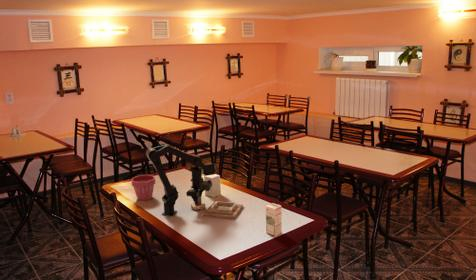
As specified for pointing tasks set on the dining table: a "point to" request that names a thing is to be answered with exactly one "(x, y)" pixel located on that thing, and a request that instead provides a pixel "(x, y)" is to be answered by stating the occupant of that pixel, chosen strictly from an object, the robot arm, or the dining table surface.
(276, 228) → the syrup box
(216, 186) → the supplement box
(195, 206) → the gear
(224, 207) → the board
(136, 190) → the plant pot
